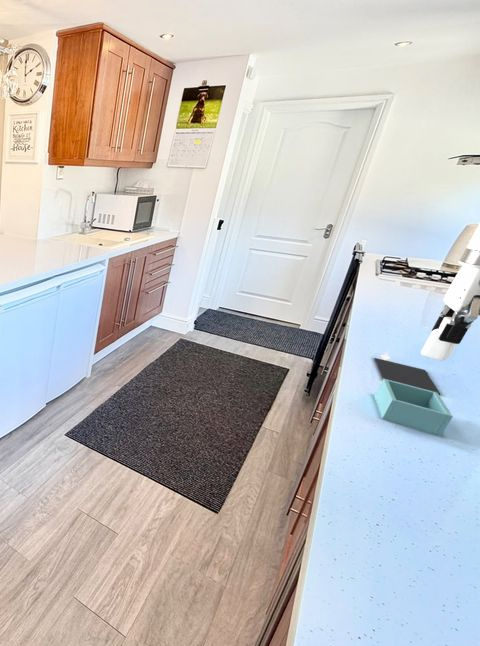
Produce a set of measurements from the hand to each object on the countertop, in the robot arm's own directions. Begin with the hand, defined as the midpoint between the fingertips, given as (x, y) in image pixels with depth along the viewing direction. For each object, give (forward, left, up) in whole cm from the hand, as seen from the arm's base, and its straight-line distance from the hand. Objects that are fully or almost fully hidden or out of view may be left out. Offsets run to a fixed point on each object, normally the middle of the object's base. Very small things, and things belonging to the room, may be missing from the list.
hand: (444, 337), depth 92 cm
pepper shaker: (0, 0, -5) cm, 5 cm away
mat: (-3, -23, -19) cm, 30 cm away
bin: (+1, +5, -19) cm, 20 cm away
